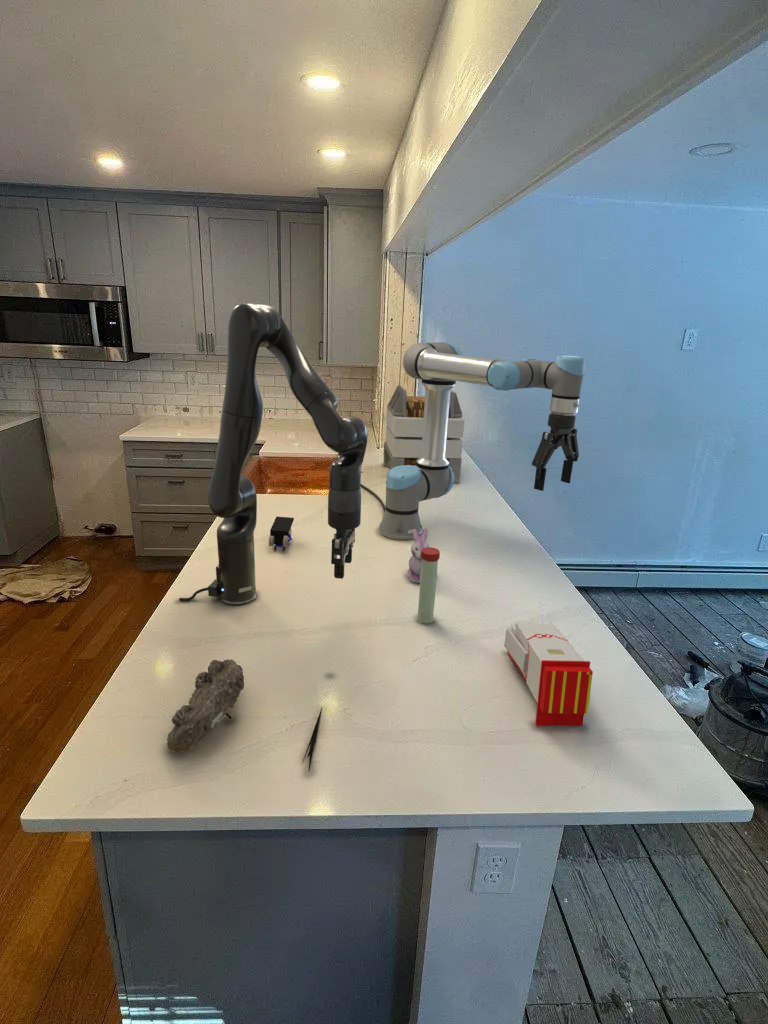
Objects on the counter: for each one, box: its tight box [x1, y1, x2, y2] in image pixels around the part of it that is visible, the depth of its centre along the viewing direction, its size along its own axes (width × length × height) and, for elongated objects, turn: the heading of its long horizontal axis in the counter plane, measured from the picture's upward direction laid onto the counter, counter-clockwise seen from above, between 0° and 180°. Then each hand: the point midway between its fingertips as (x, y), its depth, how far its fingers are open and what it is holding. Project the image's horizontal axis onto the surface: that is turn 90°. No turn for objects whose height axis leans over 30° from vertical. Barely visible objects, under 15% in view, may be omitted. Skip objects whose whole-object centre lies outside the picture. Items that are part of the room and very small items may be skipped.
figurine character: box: [268, 515, 295, 552], centre depth 185 cm, size 7×8×15 cm
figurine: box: [407, 527, 430, 584], centre depth 166 cm, size 9×10×15 cm
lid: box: [421, 546, 441, 561], centre depth 139 cm, size 5×5×2 cm
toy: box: [503, 622, 594, 727], centre depth 121 cm, size 12×13×30 cm
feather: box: [301, 673, 332, 771], centre depth 108 cm, size 2×28×2 cm
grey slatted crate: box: [383, 384, 465, 484], centre depth 268 cm, size 34×33×41 cm
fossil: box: [166, 658, 245, 754], centre depth 106 cm, size 22×10×15 cm
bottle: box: [416, 559, 439, 624], centre depth 142 cm, size 4×4×19 cm
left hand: (343, 569), depth 135 cm, fingers open, 8 cm apart
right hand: (552, 485), depth 166 cm, fingers open, 13 cm apart
